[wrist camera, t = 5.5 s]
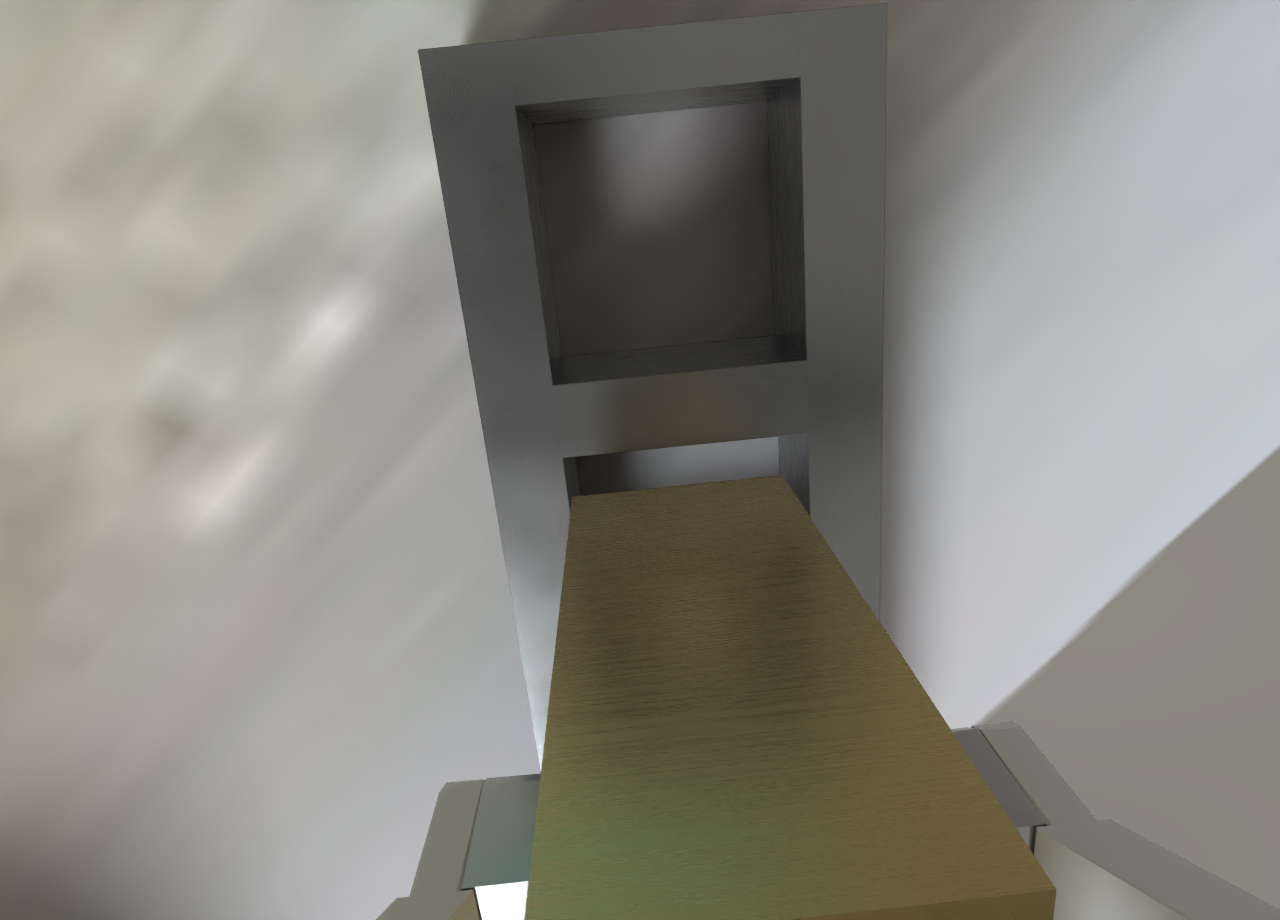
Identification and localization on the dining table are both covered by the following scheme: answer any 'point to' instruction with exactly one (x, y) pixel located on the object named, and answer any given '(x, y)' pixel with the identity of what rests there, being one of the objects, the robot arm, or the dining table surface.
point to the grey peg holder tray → (682, 374)
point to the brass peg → (749, 734)
